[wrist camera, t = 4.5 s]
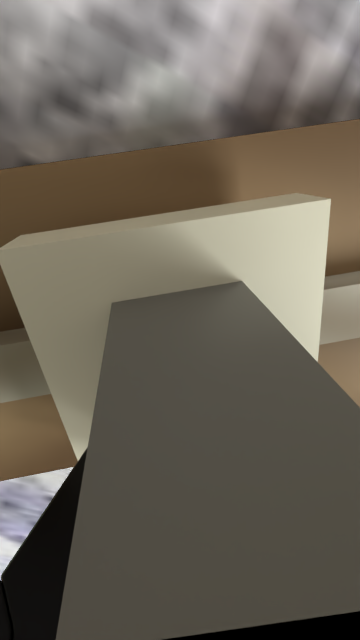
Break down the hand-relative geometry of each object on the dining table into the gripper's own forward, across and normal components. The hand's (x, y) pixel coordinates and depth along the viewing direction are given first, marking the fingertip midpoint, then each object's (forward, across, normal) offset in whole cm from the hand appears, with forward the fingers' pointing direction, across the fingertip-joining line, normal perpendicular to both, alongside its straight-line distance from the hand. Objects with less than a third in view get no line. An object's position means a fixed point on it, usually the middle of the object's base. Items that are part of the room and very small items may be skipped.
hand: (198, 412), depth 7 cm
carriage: (+3, 0, 0) cm, 3 cm away
